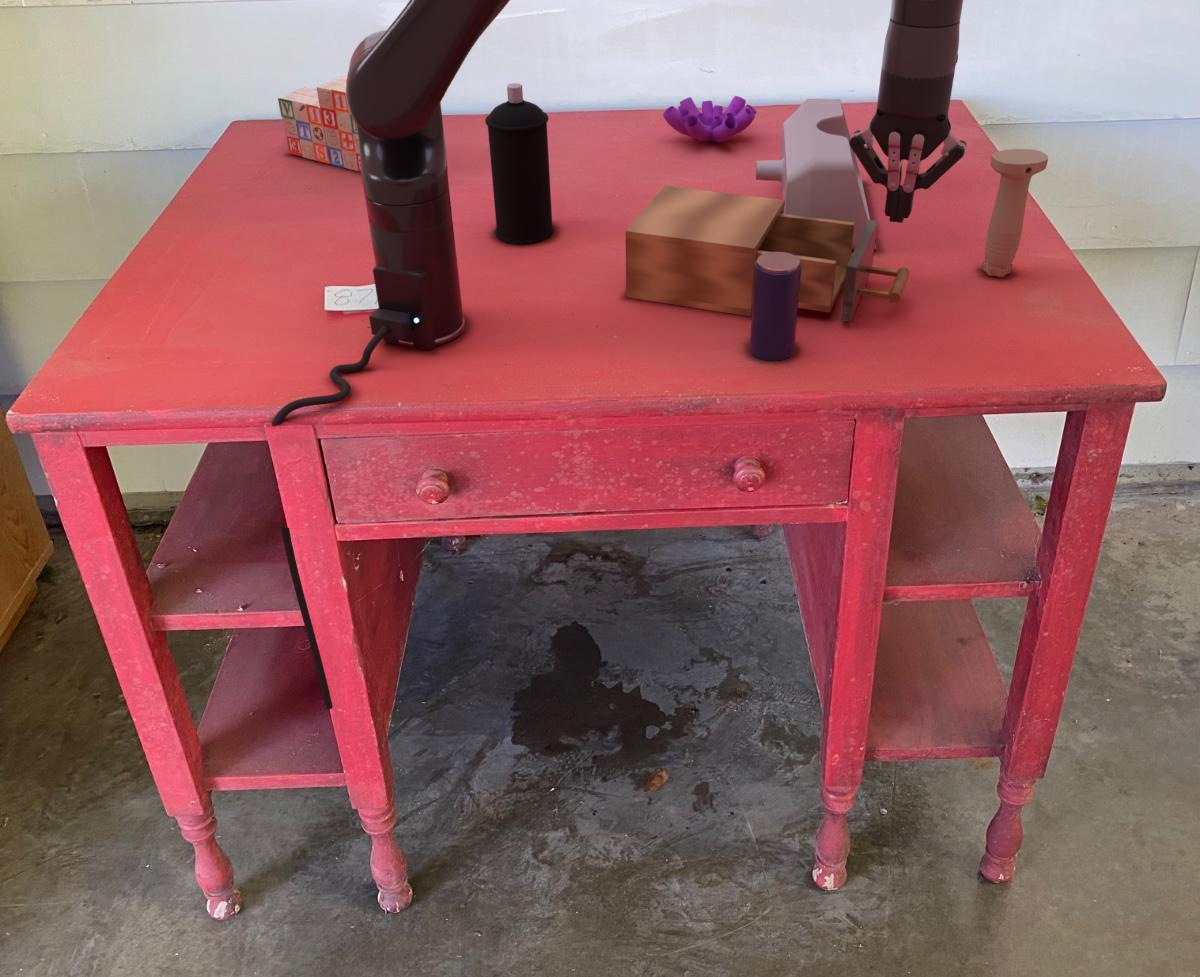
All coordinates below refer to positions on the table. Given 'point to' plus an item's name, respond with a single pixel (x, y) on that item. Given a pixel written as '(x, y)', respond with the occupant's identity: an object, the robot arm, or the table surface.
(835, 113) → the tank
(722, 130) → the pipe connector assembly
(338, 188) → the table surface
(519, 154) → the aerosol can
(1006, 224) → the handle
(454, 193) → the table surface
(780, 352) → the can
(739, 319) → the table surface
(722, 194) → the cabinet
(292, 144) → the stack of blocks
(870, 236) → the drawer
